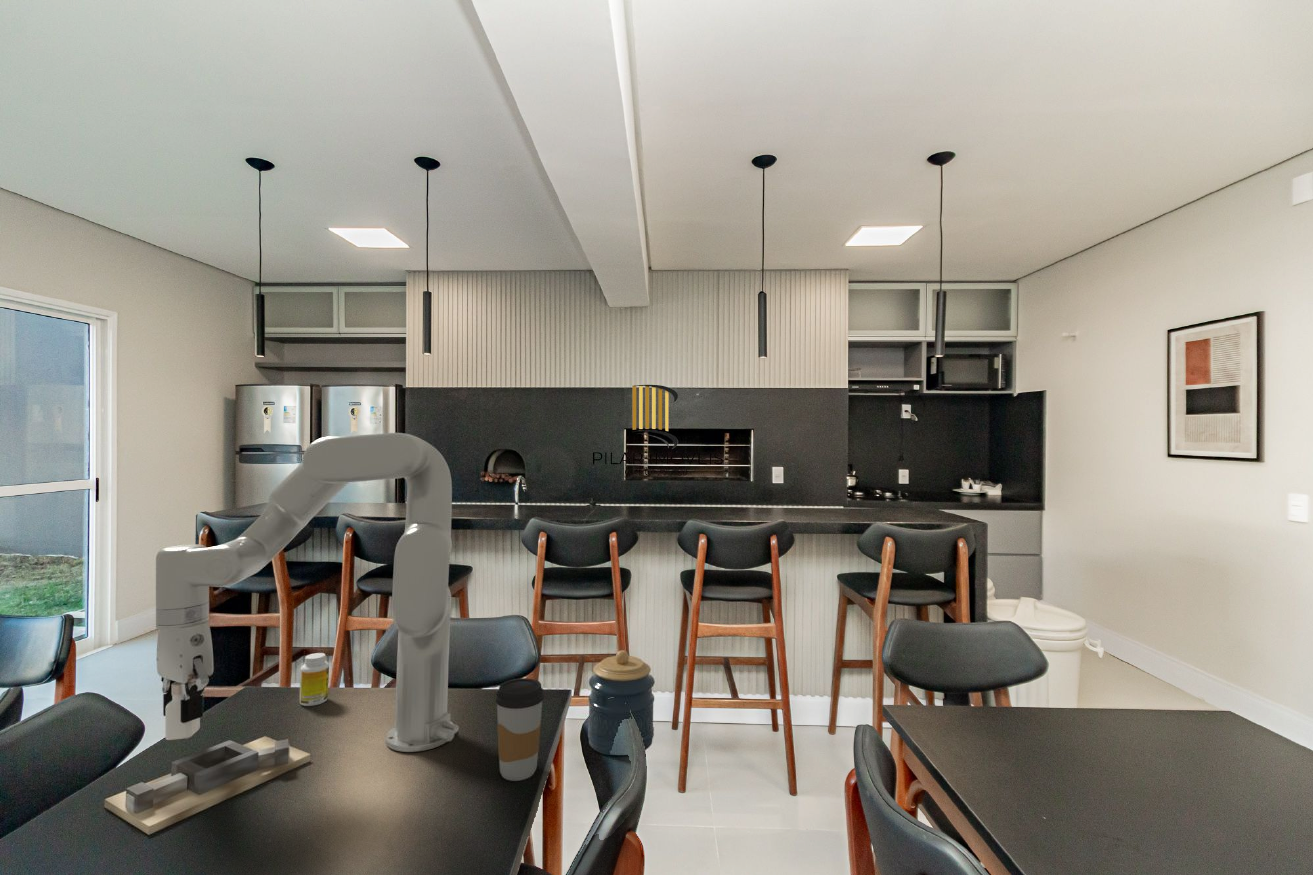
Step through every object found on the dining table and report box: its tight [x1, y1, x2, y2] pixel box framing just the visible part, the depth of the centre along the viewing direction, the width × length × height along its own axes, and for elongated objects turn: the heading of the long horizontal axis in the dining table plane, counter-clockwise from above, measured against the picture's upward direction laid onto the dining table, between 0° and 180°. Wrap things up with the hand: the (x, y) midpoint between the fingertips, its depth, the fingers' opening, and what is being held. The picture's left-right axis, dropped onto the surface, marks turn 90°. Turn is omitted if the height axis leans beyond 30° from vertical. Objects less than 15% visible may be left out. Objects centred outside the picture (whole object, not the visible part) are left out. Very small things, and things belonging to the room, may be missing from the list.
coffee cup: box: [495, 677, 545, 782], centre depth 105 cm, size 8×8×15 cm
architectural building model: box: [103, 735, 311, 836], centre depth 100 cm, size 24×14×4 cm, turn 152°
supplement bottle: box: [299, 652, 330, 707], centre depth 133 cm, size 6×6×10 cm
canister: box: [587, 649, 656, 756], centre depth 117 cm, size 13×13×18 cm
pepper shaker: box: [164, 678, 201, 741], centre depth 107 cm, size 4×4×10 cm
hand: (183, 715), depth 107 cm, fingers closed on pepper shaker, 5 cm apart
